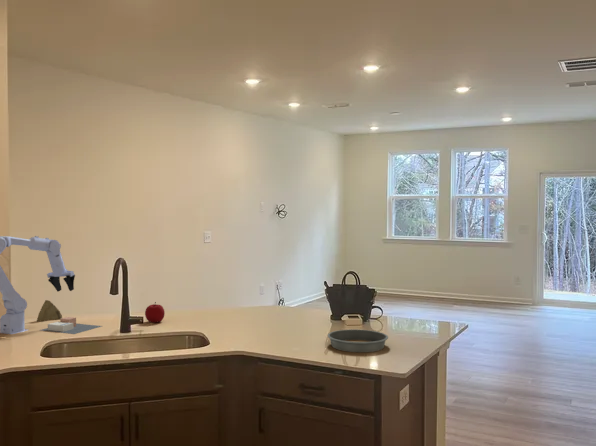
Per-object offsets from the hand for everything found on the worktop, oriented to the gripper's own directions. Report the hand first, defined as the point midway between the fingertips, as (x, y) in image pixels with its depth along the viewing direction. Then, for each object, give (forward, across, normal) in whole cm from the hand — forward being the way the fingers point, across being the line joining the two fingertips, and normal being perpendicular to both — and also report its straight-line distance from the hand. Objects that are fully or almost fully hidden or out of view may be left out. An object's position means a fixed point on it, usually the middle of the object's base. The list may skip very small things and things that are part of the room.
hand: (65, 290), depth 266 cm
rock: (+15, +15, +1) cm, 21 cm away
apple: (+25, -34, -14) cm, 44 cm away
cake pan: (+32, -137, -4) cm, 141 cm away
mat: (+14, -10, +13) cm, 21 cm away
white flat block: (+12, -7, +16) cm, 22 cm away
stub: (+14, -6, +11) cm, 19 cm away
